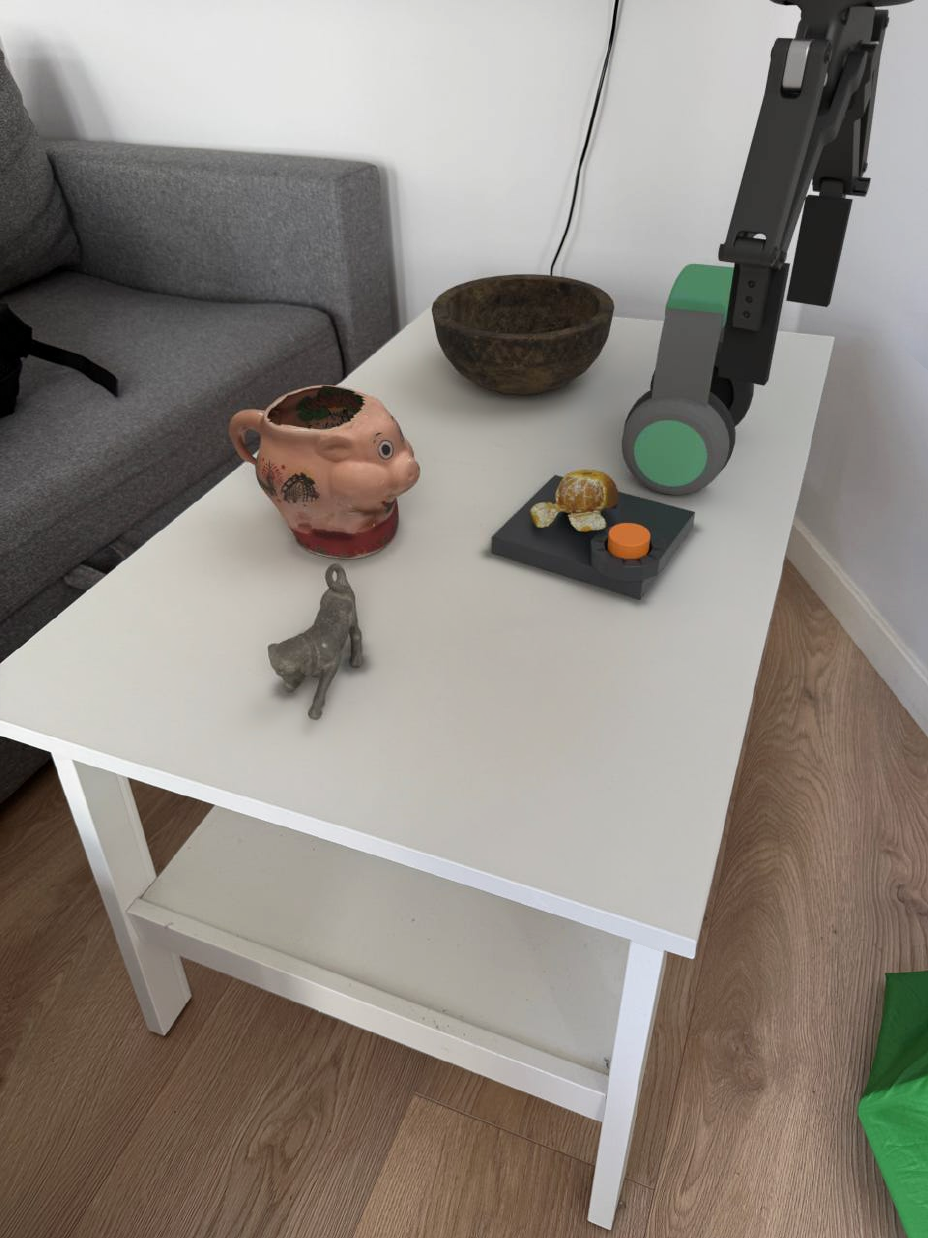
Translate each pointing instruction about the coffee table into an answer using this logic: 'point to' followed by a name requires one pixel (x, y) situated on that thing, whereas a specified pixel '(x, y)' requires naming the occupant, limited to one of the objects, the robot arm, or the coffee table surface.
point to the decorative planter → (331, 467)
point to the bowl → (522, 330)
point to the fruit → (579, 500)
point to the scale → (595, 542)
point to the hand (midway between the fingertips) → (777, 338)
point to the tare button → (628, 541)
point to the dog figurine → (321, 641)
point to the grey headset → (688, 391)
